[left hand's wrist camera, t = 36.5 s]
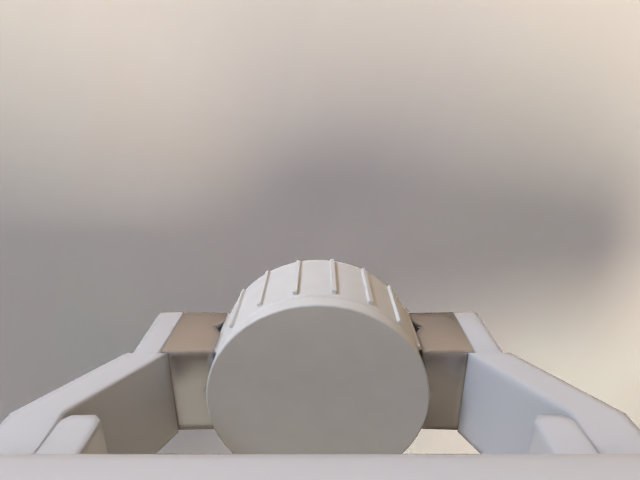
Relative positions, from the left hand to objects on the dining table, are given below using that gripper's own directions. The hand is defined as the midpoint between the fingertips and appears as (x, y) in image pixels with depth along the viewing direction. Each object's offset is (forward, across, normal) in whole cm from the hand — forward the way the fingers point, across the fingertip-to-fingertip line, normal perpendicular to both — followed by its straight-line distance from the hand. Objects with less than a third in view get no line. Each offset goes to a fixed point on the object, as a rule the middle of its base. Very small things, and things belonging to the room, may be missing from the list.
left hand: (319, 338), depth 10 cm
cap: (-2, 0, 0) cm, 2 cm away
